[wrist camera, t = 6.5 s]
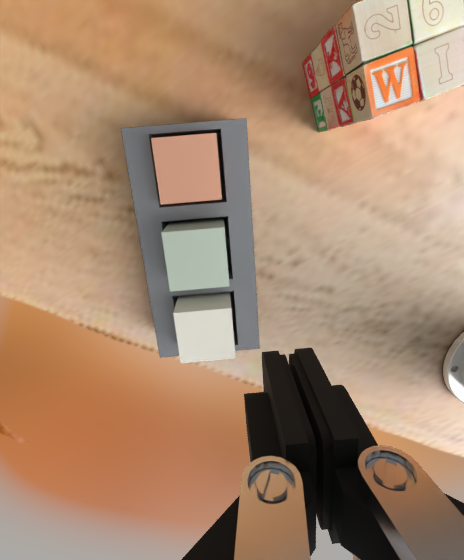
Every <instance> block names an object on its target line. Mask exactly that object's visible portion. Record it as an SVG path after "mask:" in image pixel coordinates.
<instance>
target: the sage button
mask: <svg viewBox="0 0 464 560" xmlns="http://www.w3.org/2000/svg"><path fill="white" fill-rule="evenodd" d="M161 234H162V241H163V247H164V254H165V261H166V268H167V274H168V281H169V288H170V292H171V291H182V290H194V289H205V288H216V287H228V286H229V274H228V262H227V250H226V239H225V227H224V219H223V218H213V219H201V220H189V221H177V222H169V224H168V225H167V226H166V227H165V229H164V230H163V231H162V232H161Z"/></svg>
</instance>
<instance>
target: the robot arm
mask: <svg viewBox="0 0 464 560" xmlns="http://www.w3.org/2000/svg"><path fill="white" fill-rule="evenodd" d="M262 367H263V385H264V392H259V393H248V394H244V398H245V399H244V400H245V413H246V424H247V434H248V443H249V451H250V461H251V463H250V464H249V465H248V466H247V467H246V468H245V470H244V471H243V475H242V478H241V486H240V496H239V497H238V498H237V499H236V500H235V501H234V503H232V505H231V506H230V507H229V508H228V509H227V510H226V511H225V512H224V513H223V514H222V516H221V517H220V518H219V519H218V520H217V521H216V522H215V523H214V524H213V525H212V527H211V528H210V529H209V530H208V531H207V532H206V533H205V534H204V535H203V536H202V538H201V539H200V540H199V541H198V542H197V543H196V544H195V545H194V546H193V548H192V549H191V550H190V551H189V552H188V553H187V554H186V555H185V556H184V557H183V559H182V560H310V556H311V555H312V553H313V551H314V550H315V548H316V514H317V518H318V521H319V525H320V527H321V529H322V530H324V529H328V531H329V535H330V538H331V541H332V544H334V543H341V546H343V547H344V548H345V549H347V550H348V551H350V552H351V553H352V554H353V559H354V560H464V503H462V502H460V501H458V500H456V499H454V498H452V497H450V496H449V495H447V494H445V493H443V492H442V491H441V489H440V488H439V487H438V486H437V485H436V484H435V483H434V481H433V480H432V479H431V478H430V477H429V476H428V474H427V473H426V472H425V471H424V470H423V469H422V467H421V466H420V465H419V464H418V463H417V462H416V461H415V460H414V459H413V458H412V457H411V456H409V455H408V454H406V453H405V452H403V451H401V450H399V449H396V448H393V447H390V446H382V445H380V446H378V444H377V443H376V441H375V439H374V437H373V436H372V434H371V432H370V431H369V429H368V427H367V425H366V423H365V422H364V420H363V418H362V416H361V415H360V413H359V411H358V409H357V408H356V406H355V404H354V403H353V401H352V399H351V397H350V396H349V394H348V392H347V390H346V389H345V387H344V386H343V385H334V386H332V385H331V384H330V382H329V380H328V378H327V376H326V374H325V372H324V370H323V368H322V366H321V364H320V362H319V360H318V359H317V357H316V355H315V353H314V351H313V349H312V348H303V349H295V352H294V354H289V364H288V361H287V358H286V356H285V354H284V355H280V354H279V351H270V352H262ZM443 377H444V381H445V384H446V386H447V387H448V389H449V390H450V391H451V392H452V394H453V395H454V396H455V397H457V398H458V399H459V400H460V401H461V402H463V403H464V332H463V333H462V334H460V336H459V337H458V338H457V339H456V340H455V341H454V342H453V344H452V346H451V347H450V349H449V350H448V353H447V355H446V357H445V360H444V365H443Z"/></svg>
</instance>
